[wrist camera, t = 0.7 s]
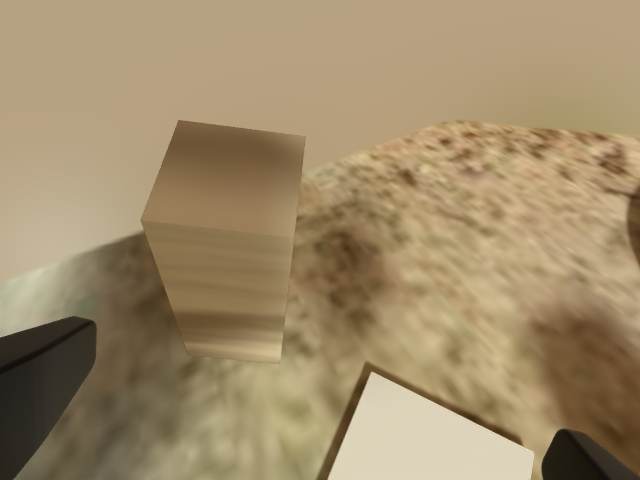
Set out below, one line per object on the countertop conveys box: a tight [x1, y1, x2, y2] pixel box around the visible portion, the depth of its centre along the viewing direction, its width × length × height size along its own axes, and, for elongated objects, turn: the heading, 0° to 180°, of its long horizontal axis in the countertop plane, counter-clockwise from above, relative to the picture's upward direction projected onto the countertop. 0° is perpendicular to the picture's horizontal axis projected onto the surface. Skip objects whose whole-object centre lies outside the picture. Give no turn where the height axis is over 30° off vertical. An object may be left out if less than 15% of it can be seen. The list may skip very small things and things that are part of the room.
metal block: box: [141, 120, 306, 364], centre depth 21 cm, size 5×5×12 cm
